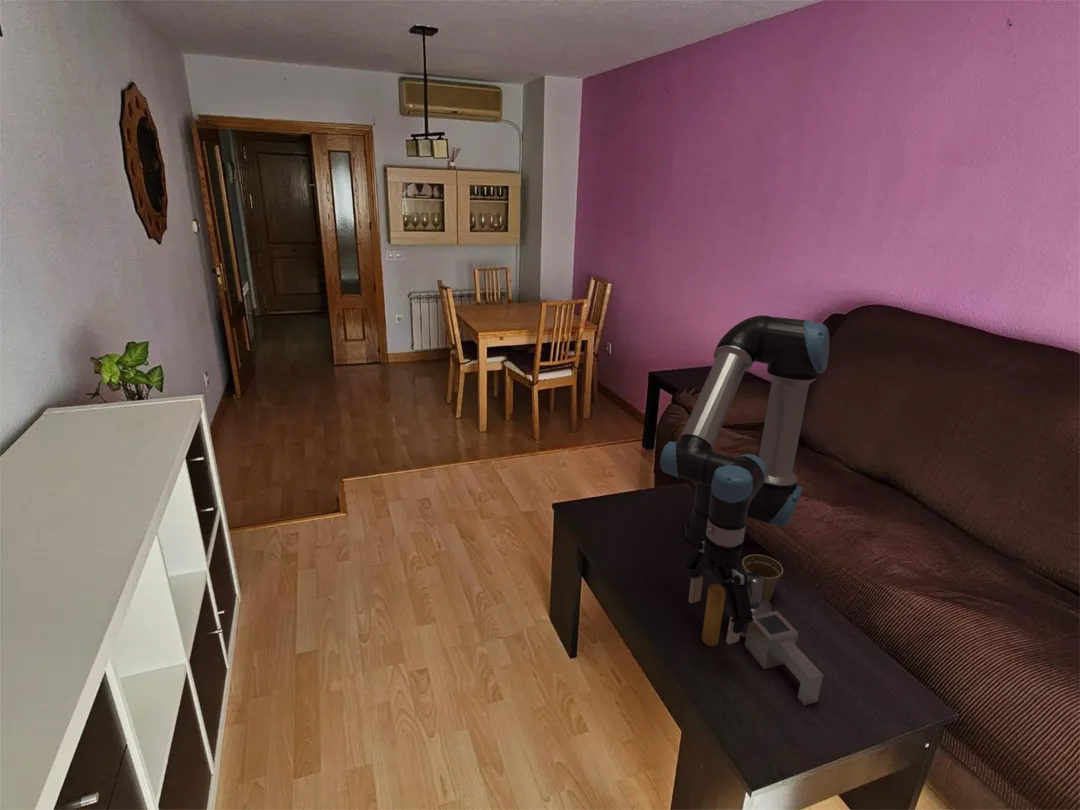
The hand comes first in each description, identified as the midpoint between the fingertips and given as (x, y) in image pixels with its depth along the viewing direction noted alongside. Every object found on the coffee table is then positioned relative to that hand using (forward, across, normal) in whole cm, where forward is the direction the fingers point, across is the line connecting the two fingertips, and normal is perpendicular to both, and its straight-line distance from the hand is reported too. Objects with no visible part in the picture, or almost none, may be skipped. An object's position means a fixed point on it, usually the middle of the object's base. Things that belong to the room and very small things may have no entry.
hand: (712, 620), depth 129 cm
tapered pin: (+6, 0, 0) cm, 6 cm away
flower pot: (+6, -9, +21) cm, 23 cm away
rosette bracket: (+6, +8, +10) cm, 14 cm away
